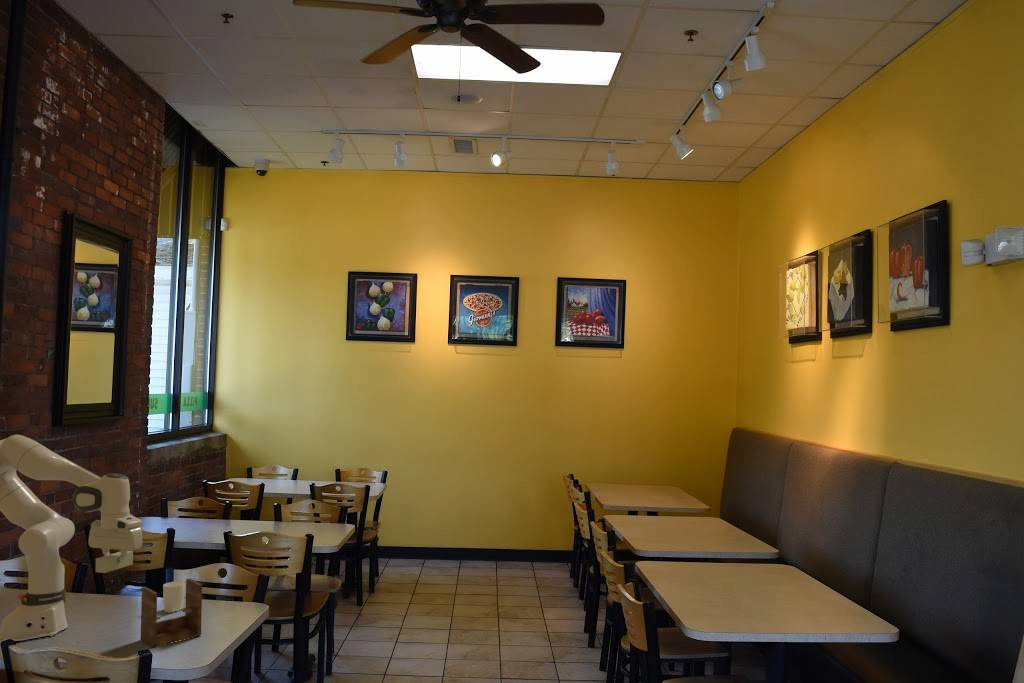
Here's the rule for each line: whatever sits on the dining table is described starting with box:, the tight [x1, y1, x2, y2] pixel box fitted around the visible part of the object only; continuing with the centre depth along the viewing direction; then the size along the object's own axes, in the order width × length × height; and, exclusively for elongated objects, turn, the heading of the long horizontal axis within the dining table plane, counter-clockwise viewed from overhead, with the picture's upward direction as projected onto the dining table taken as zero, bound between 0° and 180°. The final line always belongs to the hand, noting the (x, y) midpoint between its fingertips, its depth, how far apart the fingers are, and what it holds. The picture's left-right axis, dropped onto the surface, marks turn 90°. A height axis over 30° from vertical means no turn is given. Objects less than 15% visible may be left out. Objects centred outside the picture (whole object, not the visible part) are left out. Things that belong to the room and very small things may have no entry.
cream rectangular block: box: [95, 550, 134, 574], centre depth 259 cm, size 12×4×4 cm, turn 162°
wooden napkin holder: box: [140, 578, 203, 649], centre depth 263 cm, size 16×11×18 cm
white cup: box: [162, 580, 186, 613], centre depth 294 cm, size 8×8×10 cm
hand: (114, 561), depth 259 cm, fingers closed on cream rectangular block, 4 cm apart
